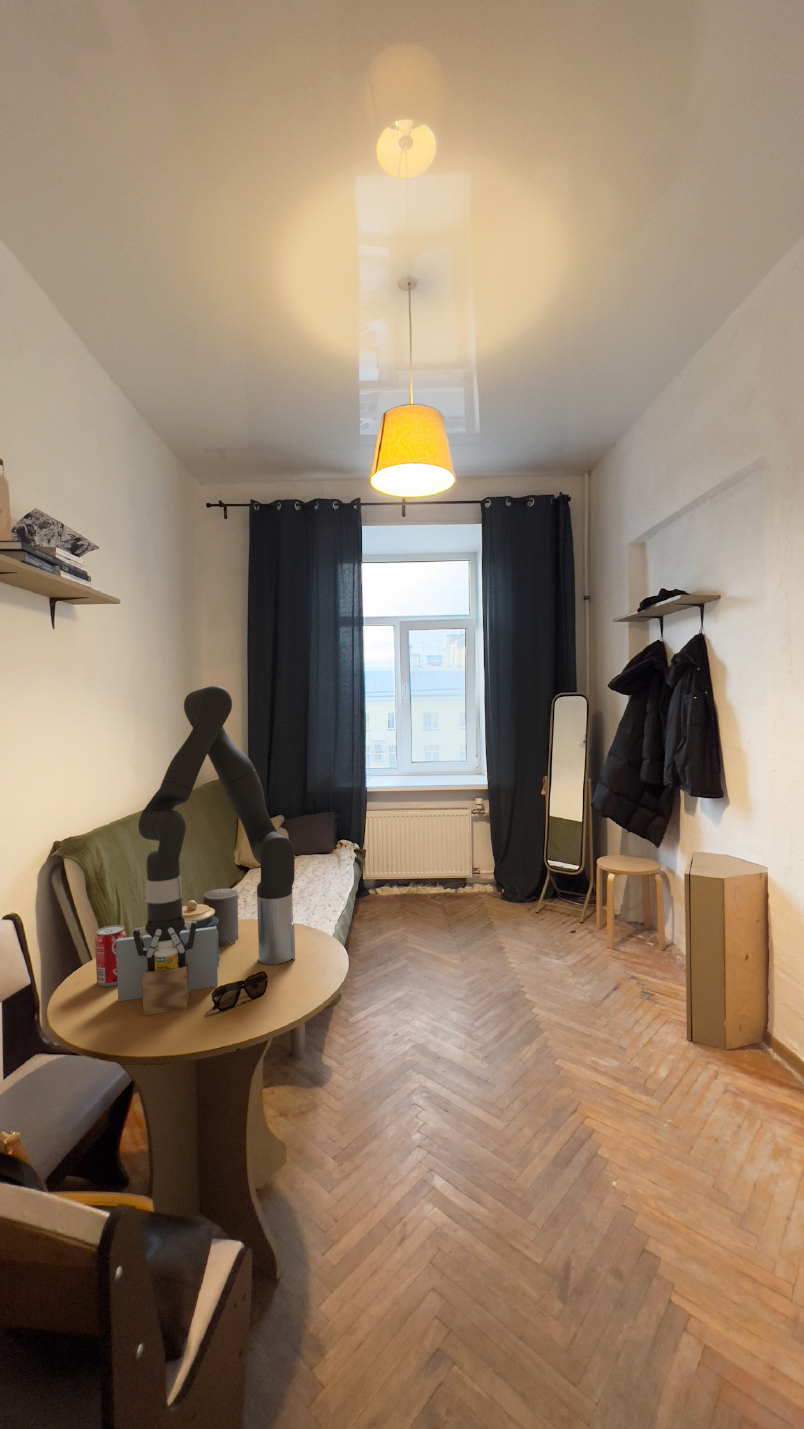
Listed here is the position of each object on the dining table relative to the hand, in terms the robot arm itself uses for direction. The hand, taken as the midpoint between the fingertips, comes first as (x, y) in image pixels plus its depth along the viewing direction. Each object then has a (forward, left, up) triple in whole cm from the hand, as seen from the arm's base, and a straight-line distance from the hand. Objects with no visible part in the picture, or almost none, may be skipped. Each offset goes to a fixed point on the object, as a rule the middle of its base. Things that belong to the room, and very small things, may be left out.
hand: (167, 969), depth 139 cm
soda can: (+14, -16, -8) cm, 22 cm away
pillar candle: (-12, -34, -8) cm, 37 cm away
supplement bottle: (0, 0, -3) cm, 3 cm away
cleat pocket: (0, 0, -7) cm, 7 cm away
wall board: (0, -5, -7) cm, 9 cm away
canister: (-5, -17, -8) cm, 19 cm away
